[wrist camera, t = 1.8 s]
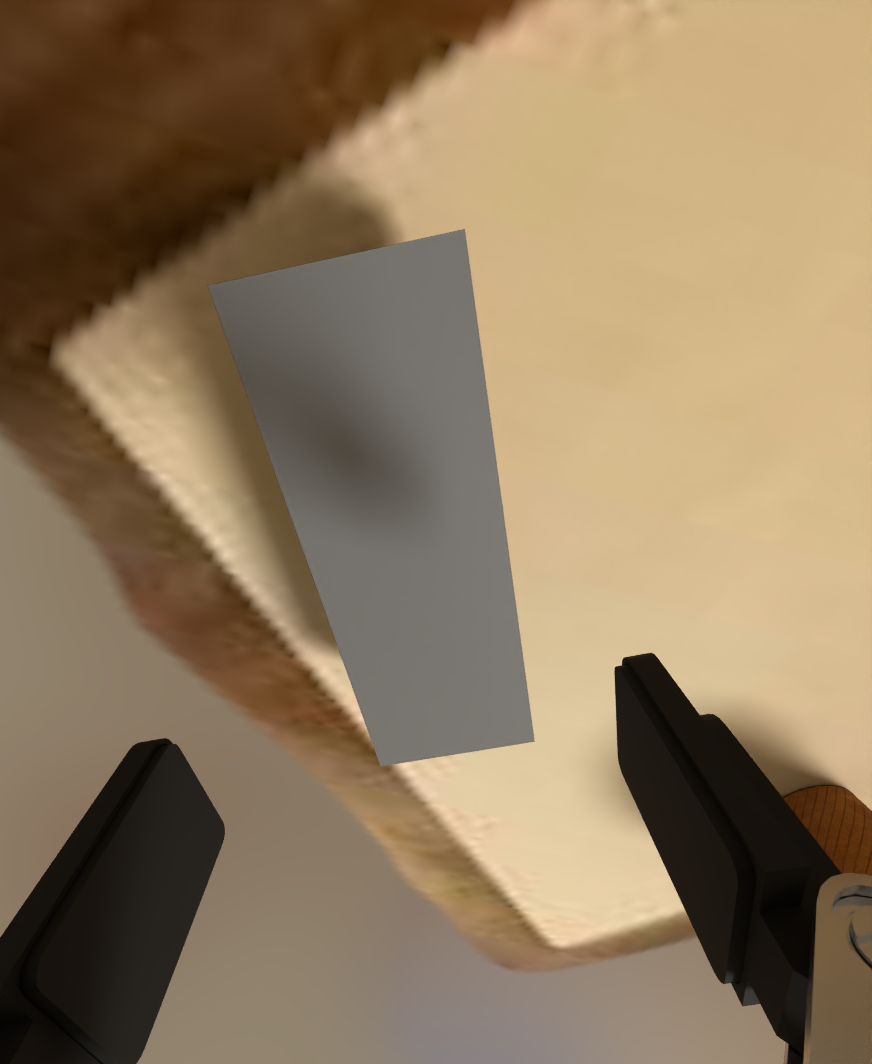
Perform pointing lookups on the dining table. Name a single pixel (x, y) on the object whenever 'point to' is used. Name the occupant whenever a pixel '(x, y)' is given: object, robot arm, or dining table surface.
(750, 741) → the dining table surface
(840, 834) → the disposable coffee cup
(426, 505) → the gray rectangular block
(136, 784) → the robot arm
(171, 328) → the dining table surface
